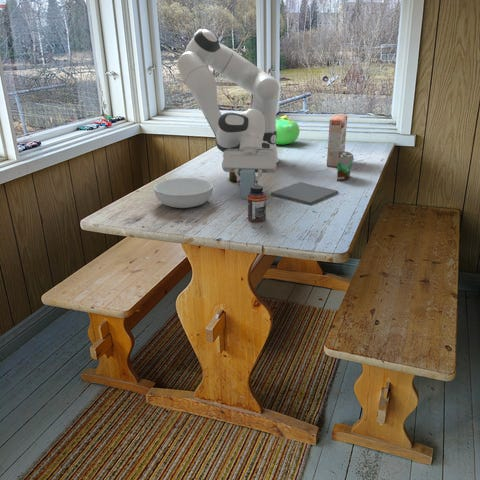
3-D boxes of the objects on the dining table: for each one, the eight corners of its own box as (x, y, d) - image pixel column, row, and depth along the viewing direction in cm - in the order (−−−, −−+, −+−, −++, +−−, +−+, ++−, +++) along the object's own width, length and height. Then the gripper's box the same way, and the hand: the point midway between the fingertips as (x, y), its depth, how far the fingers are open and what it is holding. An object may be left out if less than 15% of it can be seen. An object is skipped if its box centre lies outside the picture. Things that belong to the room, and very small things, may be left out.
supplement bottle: (246, 216, 169) (246, 184, 164) (264, 215, 169) (264, 183, 165) (248, 223, 163) (248, 189, 159) (267, 222, 164) (267, 188, 159)
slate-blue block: (240, 198, 187) (239, 172, 183) (242, 194, 191) (241, 168, 187) (254, 198, 186) (253, 172, 182) (255, 194, 190) (255, 168, 186)
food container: (352, 182, 203) (354, 158, 199) (336, 182, 204) (338, 157, 200) (352, 174, 214) (354, 151, 210) (337, 173, 215) (339, 150, 211)
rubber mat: (270, 194, 190) (270, 192, 190) (299, 184, 202) (299, 181, 202) (310, 205, 179) (310, 202, 178) (338, 193, 191) (338, 190, 190)
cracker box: (339, 167, 224) (342, 120, 216) (326, 166, 226) (328, 119, 218) (344, 160, 236) (348, 114, 228) (332, 159, 238) (334, 114, 230)
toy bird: (302, 142, 273) (303, 114, 268) (292, 149, 259) (293, 119, 254) (271, 140, 280) (271, 113, 275) (260, 146, 266) (260, 117, 260)
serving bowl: (190, 218, 169) (189, 198, 166) (143, 207, 179) (141, 189, 176) (224, 200, 185) (224, 182, 182) (179, 192, 195) (178, 174, 192)
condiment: (241, 175, 213) (241, 148, 208) (249, 182, 206) (249, 153, 201) (225, 177, 211) (224, 149, 206) (232, 184, 204) (231, 155, 198)
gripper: (222, 144, 189) (218, 176, 184) (277, 144, 186) (274, 178, 181) (225, 153, 195) (221, 184, 190) (278, 154, 192) (275, 186, 187)
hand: (247, 181), depth 185 cm, fingers closed on slate-blue block, 5 cm apart
